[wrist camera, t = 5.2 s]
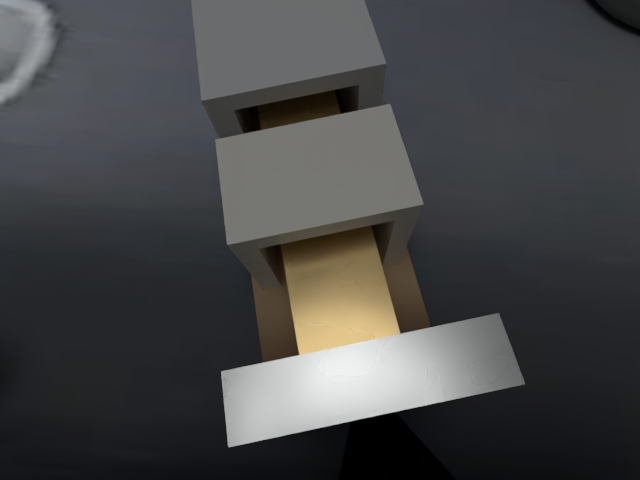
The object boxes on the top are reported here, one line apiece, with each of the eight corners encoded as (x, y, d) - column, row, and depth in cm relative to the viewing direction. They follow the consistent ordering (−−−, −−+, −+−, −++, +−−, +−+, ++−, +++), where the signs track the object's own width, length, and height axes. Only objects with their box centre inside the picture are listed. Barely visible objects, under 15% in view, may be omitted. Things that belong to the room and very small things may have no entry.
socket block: (375, 150, 20) (386, 63, 14) (240, 178, 20) (201, 100, 14) (349, 63, 22) (350, -40, 17) (227, 88, 22) (190, -8, 17)
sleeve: (399, 262, 17) (423, 204, 12) (264, 290, 17) (227, 245, 12) (377, 186, 19) (390, 103, 13) (252, 211, 19) (215, 139, 13)
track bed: (448, 391, 16) (450, 391, 15) (273, 428, 15) (271, 429, 15) (350, 64, 22) (350, 60, 22) (227, 89, 22) (225, 85, 22)
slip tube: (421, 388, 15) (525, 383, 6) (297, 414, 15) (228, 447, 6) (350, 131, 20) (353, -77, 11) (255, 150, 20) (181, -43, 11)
